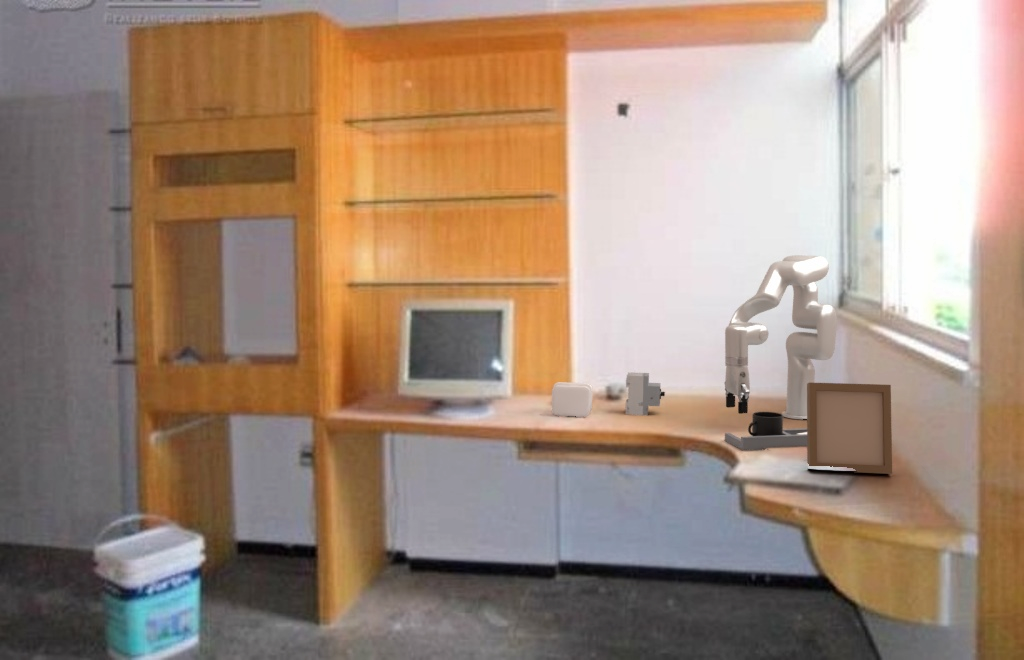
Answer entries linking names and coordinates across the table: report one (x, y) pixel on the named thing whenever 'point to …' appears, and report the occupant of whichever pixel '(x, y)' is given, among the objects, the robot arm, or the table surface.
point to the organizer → (769, 440)
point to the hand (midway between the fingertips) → (736, 410)
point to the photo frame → (849, 426)
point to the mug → (766, 424)
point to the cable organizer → (571, 399)
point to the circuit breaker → (641, 393)
